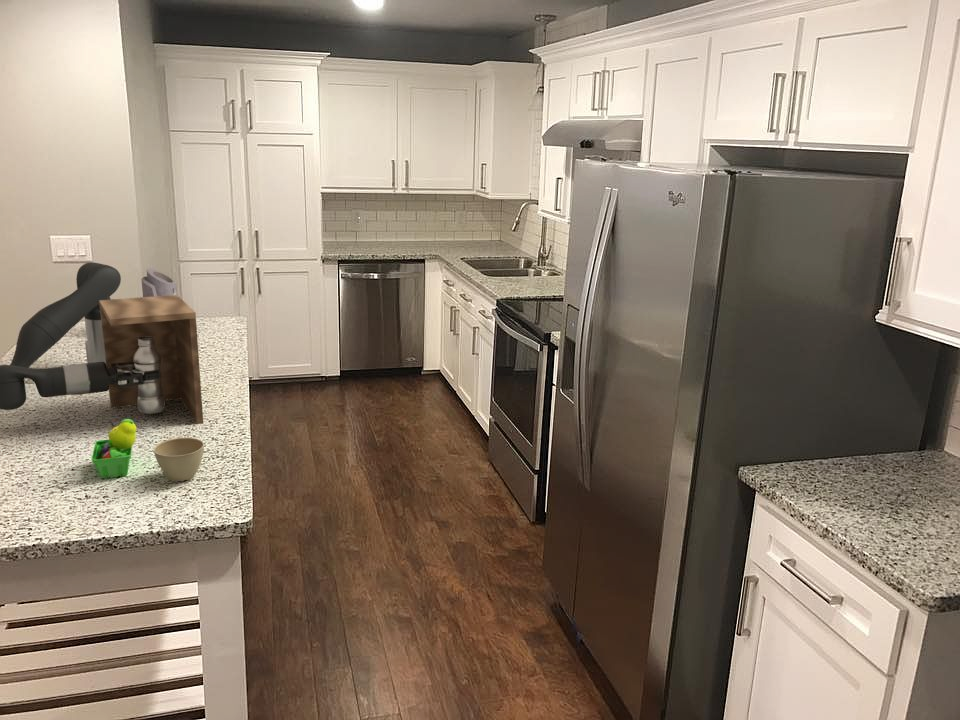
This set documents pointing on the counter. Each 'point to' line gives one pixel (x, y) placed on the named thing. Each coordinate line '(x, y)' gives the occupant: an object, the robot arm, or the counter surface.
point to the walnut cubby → (155, 346)
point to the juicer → (158, 284)
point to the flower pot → (179, 457)
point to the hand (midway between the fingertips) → (158, 370)
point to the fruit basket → (115, 450)
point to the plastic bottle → (151, 390)
